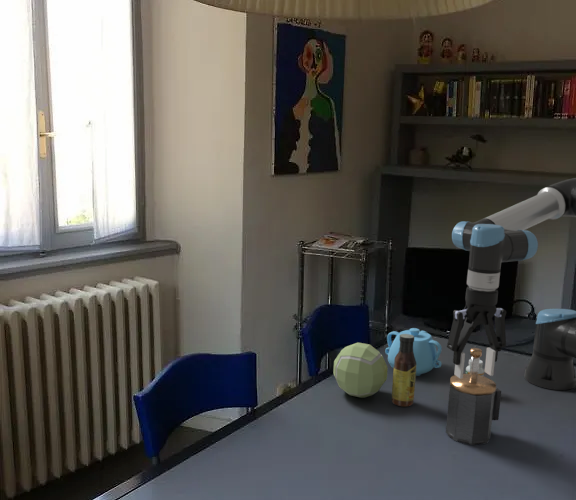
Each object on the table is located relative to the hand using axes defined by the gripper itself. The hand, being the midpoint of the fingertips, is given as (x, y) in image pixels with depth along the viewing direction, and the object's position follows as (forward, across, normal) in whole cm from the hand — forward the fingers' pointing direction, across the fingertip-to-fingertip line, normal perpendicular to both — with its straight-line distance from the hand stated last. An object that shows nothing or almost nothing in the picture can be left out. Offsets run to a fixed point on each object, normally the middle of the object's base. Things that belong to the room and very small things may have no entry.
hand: (473, 374), depth 160 cm
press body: (+16, +1, 0) cm, 16 cm away
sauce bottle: (+16, -8, +21) cm, 28 cm away
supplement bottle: (+16, +17, +24) cm, 34 cm away
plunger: (+15, 0, 0) cm, 15 cm away
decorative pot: (+16, +7, +44) cm, 47 cm away
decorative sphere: (+16, -18, +29) cm, 38 cm away
